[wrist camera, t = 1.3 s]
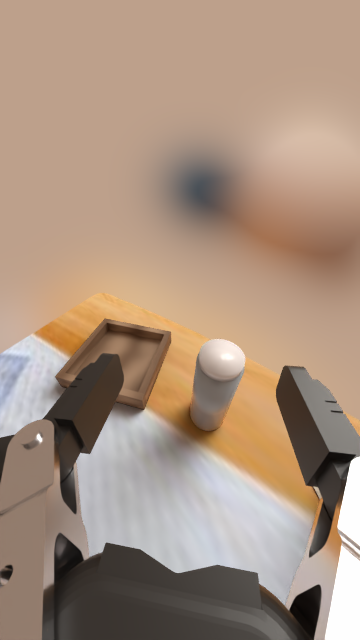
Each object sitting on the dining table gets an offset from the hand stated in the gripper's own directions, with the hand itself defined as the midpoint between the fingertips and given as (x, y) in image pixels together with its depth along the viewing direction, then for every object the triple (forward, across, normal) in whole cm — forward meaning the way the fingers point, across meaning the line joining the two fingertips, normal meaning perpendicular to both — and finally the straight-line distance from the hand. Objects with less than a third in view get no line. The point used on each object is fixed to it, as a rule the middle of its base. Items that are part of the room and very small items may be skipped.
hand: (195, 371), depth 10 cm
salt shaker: (+11, -1, +19) cm, 22 cm away
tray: (+18, +14, +16) cm, 28 cm away
